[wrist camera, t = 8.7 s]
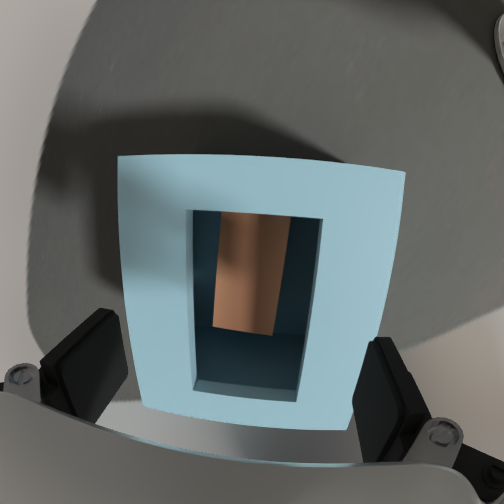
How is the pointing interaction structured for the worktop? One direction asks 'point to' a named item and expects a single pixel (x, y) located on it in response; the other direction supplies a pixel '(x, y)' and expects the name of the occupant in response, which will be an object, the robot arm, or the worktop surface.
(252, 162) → the box
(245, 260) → the brown wooden block
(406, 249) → the worktop surface
